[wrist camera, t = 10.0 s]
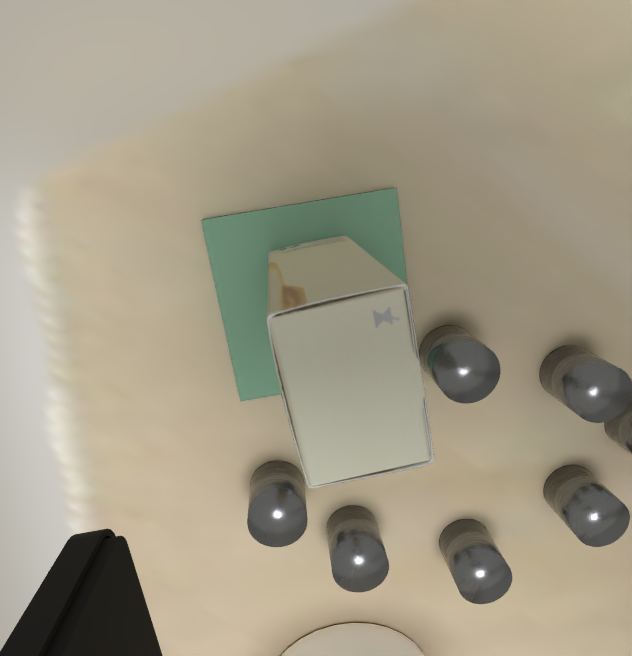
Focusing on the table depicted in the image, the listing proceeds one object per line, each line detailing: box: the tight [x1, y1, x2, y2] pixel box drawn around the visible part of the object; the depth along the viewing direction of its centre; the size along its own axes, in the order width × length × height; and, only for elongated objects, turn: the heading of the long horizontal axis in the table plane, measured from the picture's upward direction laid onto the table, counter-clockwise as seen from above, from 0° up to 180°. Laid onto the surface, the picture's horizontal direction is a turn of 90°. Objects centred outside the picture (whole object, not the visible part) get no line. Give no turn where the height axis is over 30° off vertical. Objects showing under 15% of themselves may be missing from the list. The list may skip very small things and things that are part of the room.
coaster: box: [201, 188, 407, 401], centre depth 27 cm, size 10×10×1 cm
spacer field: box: [247, 325, 632, 604], centre depth 29 cm, size 25×16×4 cm, turn 99°
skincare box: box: [267, 235, 434, 489], centre depth 21 cm, size 6×4×12 cm
